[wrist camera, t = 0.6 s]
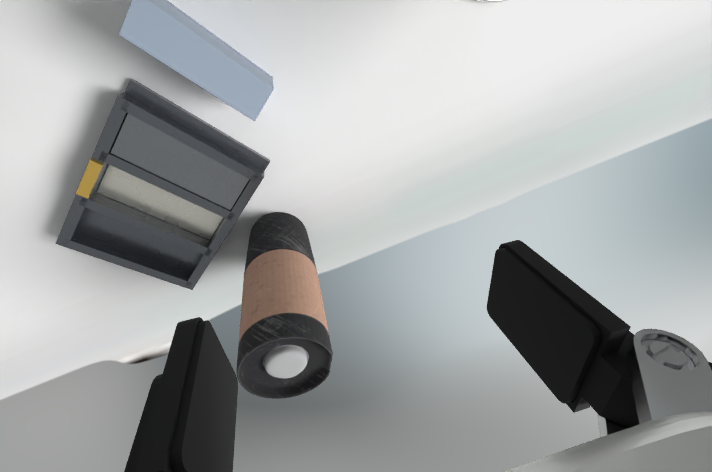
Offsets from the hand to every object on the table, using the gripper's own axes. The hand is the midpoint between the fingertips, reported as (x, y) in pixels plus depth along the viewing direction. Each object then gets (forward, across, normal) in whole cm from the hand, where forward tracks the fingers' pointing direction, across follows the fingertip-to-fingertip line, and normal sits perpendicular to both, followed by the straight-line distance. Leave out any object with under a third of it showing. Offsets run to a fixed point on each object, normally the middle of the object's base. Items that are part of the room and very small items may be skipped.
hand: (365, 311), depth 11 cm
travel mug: (+30, +4, +14) cm, 33 cm away
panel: (+30, +6, -7) cm, 31 cm away
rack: (+30, +15, +6) cm, 34 cm away
